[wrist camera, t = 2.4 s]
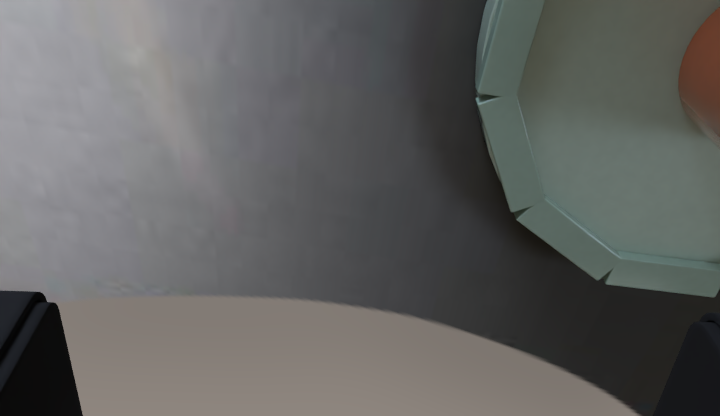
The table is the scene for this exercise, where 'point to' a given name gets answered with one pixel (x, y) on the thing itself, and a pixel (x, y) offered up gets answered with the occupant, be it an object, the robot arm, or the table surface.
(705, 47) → the espresso cup
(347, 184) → the table surface
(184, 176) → the table surface
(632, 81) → the plate
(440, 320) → the table surface
